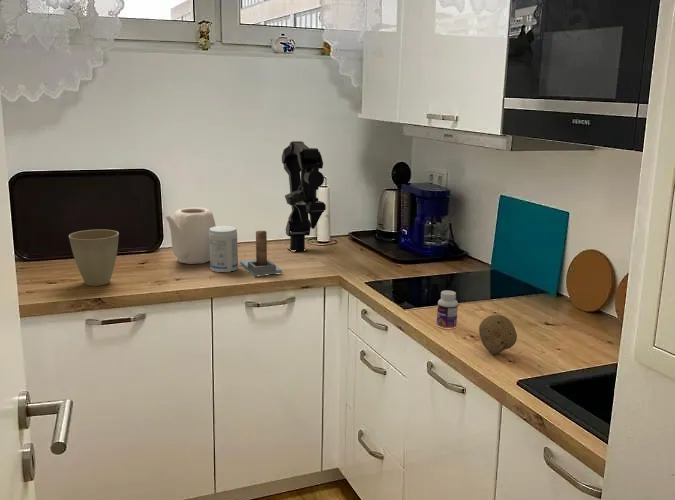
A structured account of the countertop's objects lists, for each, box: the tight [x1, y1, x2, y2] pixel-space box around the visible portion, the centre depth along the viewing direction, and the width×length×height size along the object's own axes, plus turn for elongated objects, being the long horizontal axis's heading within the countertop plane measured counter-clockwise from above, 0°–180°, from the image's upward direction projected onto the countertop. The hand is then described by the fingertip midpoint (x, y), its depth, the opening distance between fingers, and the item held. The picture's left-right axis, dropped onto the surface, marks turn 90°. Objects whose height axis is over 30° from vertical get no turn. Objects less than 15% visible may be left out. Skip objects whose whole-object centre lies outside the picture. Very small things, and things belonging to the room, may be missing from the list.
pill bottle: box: [436, 290, 459, 329], centre depth 185 cm, size 5×5×10 cm
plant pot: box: [68, 229, 120, 287], centre depth 216 cm, size 15×15×16 cm
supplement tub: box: [209, 225, 239, 273], centre depth 235 cm, size 10×10×15 cm
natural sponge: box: [478, 314, 518, 355], centre depth 167 cm, size 9×9×10 cm
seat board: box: [239, 258, 283, 277], centre depth 237 cm, size 17×10×4 cm, turn 24°
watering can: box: [165, 207, 217, 265], centre depth 244 cm, size 16×27×19 cm, turn 154°
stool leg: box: [255, 230, 268, 266], centre depth 232 cm, size 4×4×13 cm
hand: (308, 226), depth 248 cm, fingers open, 9 cm apart
